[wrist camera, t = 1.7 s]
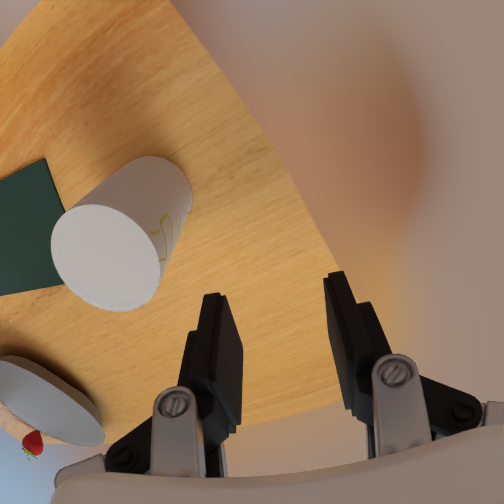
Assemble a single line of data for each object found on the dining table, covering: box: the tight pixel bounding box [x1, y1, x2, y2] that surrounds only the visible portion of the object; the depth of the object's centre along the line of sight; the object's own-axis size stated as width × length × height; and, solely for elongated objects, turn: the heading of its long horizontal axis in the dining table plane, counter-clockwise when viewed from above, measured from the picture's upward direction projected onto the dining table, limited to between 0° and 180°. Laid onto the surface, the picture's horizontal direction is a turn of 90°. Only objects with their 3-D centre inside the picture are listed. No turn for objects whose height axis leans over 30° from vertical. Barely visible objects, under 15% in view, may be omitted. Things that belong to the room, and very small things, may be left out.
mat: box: [0, 158, 65, 296], centre depth 32 cm, size 15×23×1 cm, turn 102°
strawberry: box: [22, 430, 43, 459], centre depth 56 cm, size 6×8×10 cm
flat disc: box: [0, 355, 105, 447], centre depth 47 cm, size 28×28×4 cm
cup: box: [51, 156, 192, 312], centre depth 24 cm, size 8×8×12 cm
